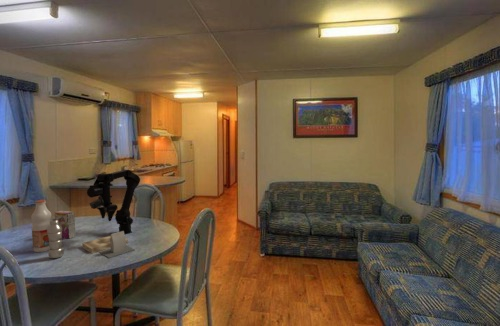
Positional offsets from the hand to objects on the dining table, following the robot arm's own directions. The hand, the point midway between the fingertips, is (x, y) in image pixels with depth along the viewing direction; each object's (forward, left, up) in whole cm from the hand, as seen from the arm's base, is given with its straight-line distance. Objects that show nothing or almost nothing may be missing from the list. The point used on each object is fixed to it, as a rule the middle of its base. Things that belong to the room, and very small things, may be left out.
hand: (106, 219), depth 170 cm
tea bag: (+3, +22, -13) cm, 26 cm away
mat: (+4, +22, -13) cm, 26 cm away
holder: (+4, +7, -13) cm, 15 cm away
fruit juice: (+29, -14, -13) cm, 35 cm away
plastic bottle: (+28, +5, -13) cm, 31 cm away
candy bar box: (+14, -28, -13) cm, 34 cm away
